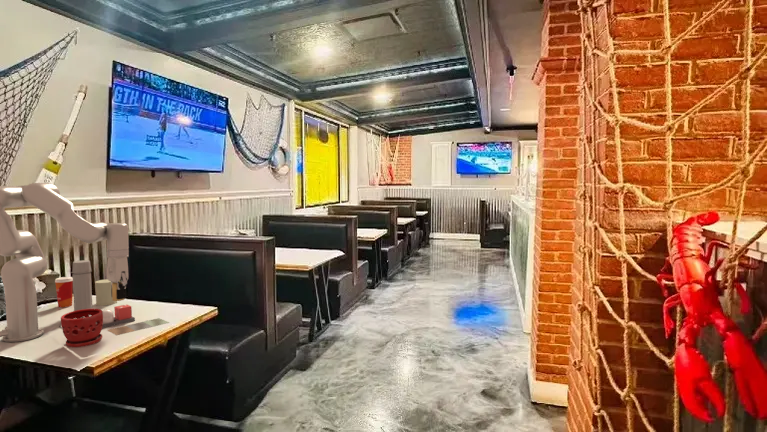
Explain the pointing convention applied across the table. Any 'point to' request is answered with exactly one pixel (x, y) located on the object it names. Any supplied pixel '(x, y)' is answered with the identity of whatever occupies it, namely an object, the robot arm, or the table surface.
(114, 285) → the tan cylinder
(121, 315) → the popper base
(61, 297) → the paper cup
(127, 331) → the game board
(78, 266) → the water bottle
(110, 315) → the dome
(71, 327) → the plant pot
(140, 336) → the table surface
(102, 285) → the can
